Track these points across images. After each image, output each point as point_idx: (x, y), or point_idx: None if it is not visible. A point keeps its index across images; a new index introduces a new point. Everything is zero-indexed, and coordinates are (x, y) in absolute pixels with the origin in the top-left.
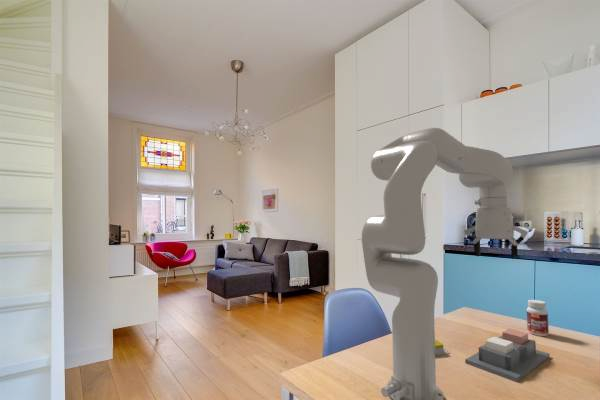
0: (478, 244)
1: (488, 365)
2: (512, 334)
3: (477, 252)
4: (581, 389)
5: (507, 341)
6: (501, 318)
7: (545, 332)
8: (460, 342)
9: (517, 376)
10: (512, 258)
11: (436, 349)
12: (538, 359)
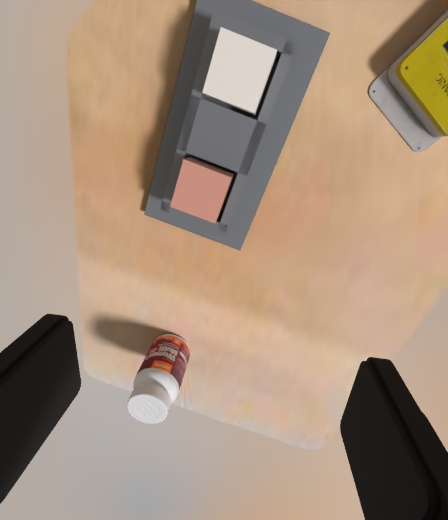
0: (427, 510)
1: (269, 27)
2: (205, 171)
3: (391, 386)
4: (86, 45)
5: (216, 86)
6: (242, 411)
7: (155, 341)
8: (337, 196)
9: None
10: (67, 318)
11: (417, 43)
12: (162, 159)
